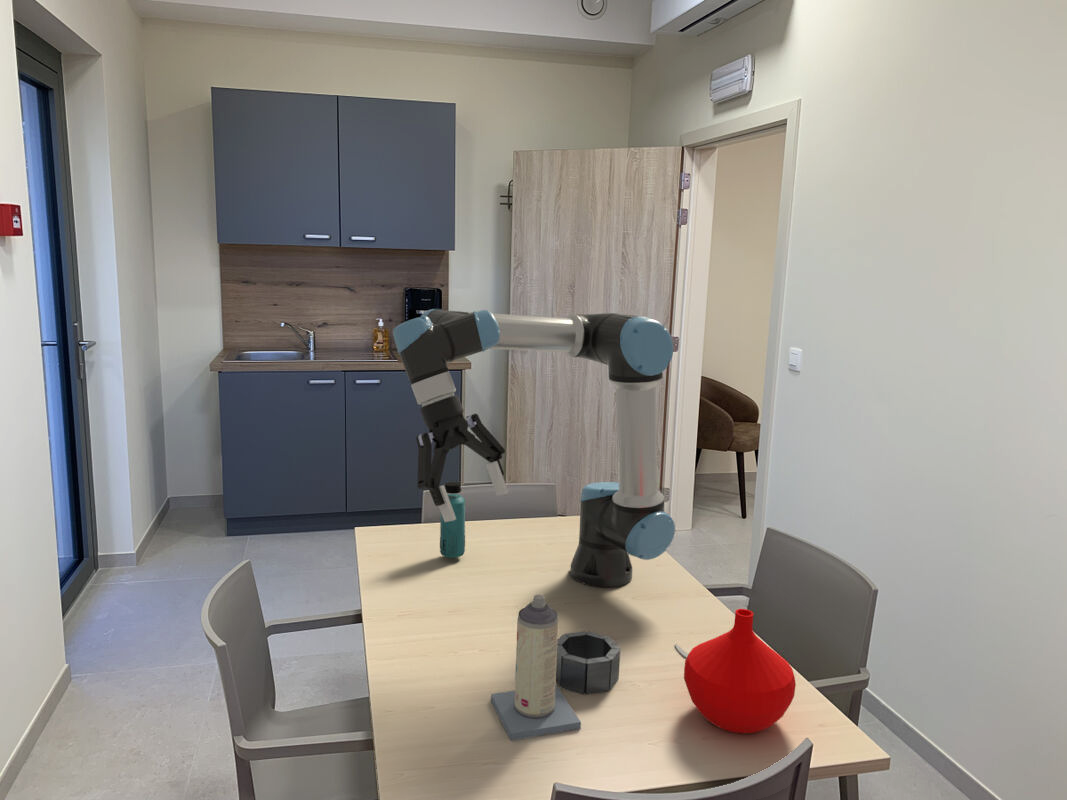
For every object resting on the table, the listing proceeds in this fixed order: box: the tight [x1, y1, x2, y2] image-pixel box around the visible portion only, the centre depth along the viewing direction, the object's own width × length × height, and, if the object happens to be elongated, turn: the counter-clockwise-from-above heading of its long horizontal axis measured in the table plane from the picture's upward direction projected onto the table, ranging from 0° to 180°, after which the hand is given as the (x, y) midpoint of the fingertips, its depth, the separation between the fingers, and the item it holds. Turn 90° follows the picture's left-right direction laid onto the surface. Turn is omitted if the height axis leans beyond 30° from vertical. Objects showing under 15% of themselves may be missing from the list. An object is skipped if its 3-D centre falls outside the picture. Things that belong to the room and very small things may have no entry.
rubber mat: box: [490, 685, 582, 741], centre depth 134 cm, size 12×12×1 cm
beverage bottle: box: [439, 481, 466, 558], centre depth 199 cm, size 6×7×20 cm
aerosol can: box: [514, 594, 559, 719], centre depth 132 cm, size 7×7×20 cm
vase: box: [683, 608, 797, 735], centre depth 134 cm, size 18×18×19 cm
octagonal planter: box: [556, 630, 621, 695], centre depth 146 cm, size 12×12×6 cm
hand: (477, 507), depth 147 cm, fingers open, 13 cm apart
